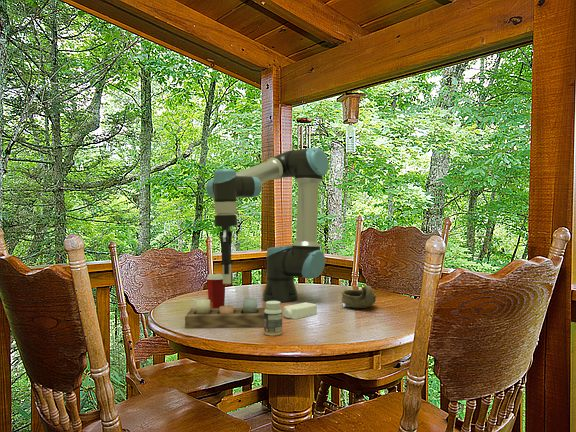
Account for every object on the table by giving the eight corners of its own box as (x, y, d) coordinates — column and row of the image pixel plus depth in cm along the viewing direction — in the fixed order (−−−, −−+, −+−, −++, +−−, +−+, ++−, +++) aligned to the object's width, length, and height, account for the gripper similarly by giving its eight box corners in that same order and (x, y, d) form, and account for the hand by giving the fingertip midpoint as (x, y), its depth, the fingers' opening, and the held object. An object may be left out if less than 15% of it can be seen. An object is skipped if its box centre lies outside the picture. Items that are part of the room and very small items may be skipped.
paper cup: (230, 309, 179) (229, 273, 179) (220, 313, 172) (220, 276, 171) (212, 308, 181) (211, 273, 181) (202, 312, 174) (202, 275, 174)
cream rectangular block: (280, 318, 165) (279, 306, 165) (304, 312, 174) (304, 301, 174) (292, 321, 160) (292, 309, 160) (317, 315, 169) (317, 303, 169)
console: (265, 318, 163) (264, 307, 163) (264, 327, 151) (264, 315, 151) (191, 319, 162) (191, 308, 162) (185, 328, 150) (185, 316, 150)
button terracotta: (234, 318, 159) (234, 305, 159) (233, 321, 154) (232, 308, 154) (220, 318, 159) (220, 305, 159) (218, 321, 154) (218, 308, 154)
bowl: (367, 303, 189) (366, 279, 189) (386, 312, 172) (386, 285, 172) (335, 305, 186) (335, 280, 186) (352, 314, 169) (352, 287, 169)
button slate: (257, 311, 159) (257, 298, 159) (256, 314, 155) (256, 301, 155) (243, 311, 159) (243, 298, 159) (242, 314, 154) (242, 301, 154)
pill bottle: (263, 331, 146) (263, 300, 146) (281, 331, 146) (281, 300, 146) (264, 336, 140) (264, 304, 140) (283, 335, 141) (282, 303, 141)
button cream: (211, 311, 159) (211, 299, 159) (209, 314, 154) (209, 301, 154) (197, 311, 159) (197, 299, 159) (194, 314, 154) (194, 301, 154)
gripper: (217, 214, 163) (218, 280, 163) (212, 215, 150) (213, 286, 150) (238, 213, 163) (239, 279, 164) (235, 214, 150) (236, 286, 150)
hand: (227, 283), depth 157 cm, fingers closed
